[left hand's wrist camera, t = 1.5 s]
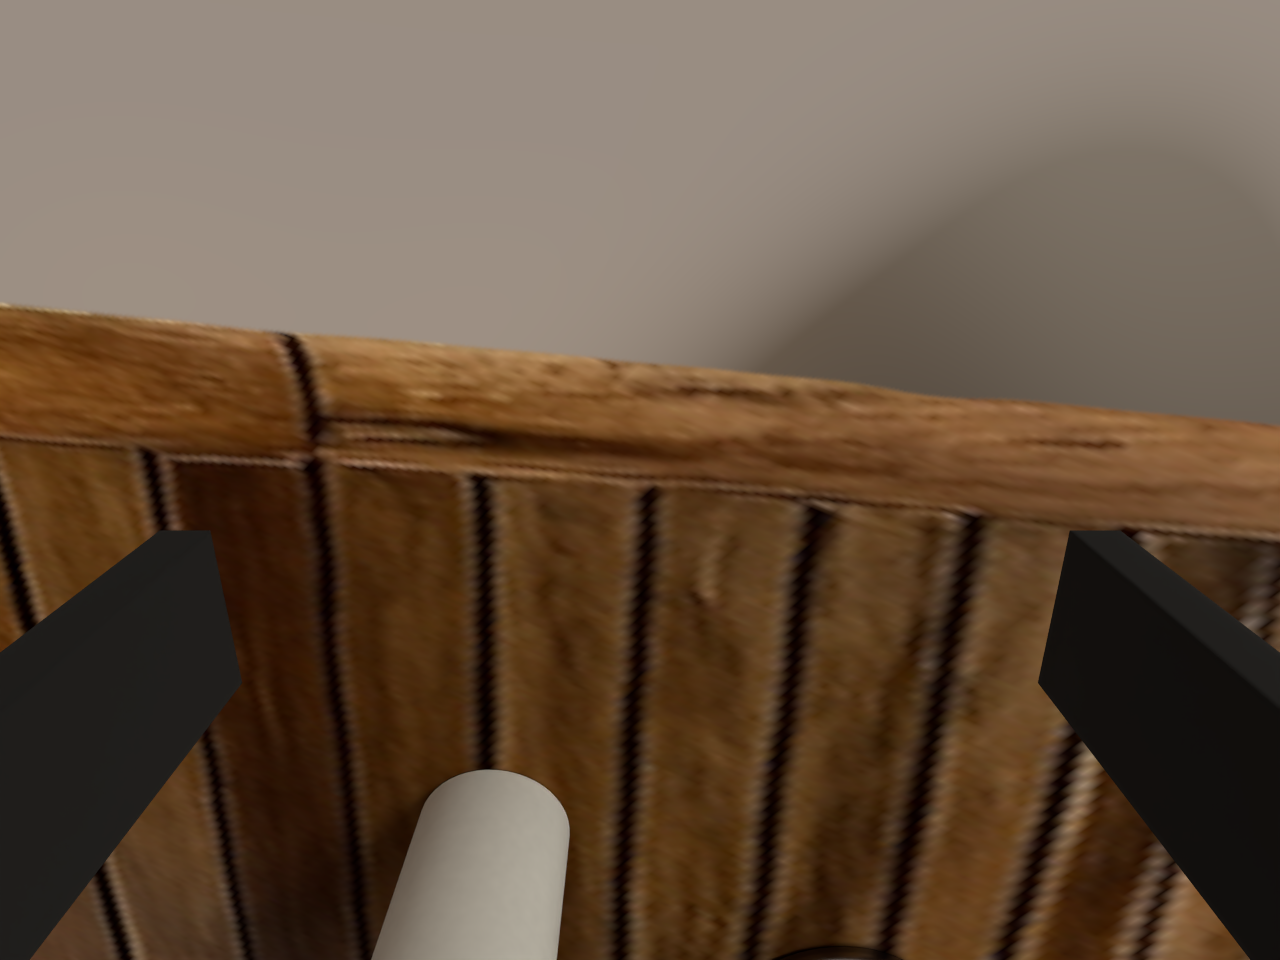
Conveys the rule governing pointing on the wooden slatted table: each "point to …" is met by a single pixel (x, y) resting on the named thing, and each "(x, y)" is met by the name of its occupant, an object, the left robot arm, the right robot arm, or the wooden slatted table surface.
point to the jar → (481, 874)
